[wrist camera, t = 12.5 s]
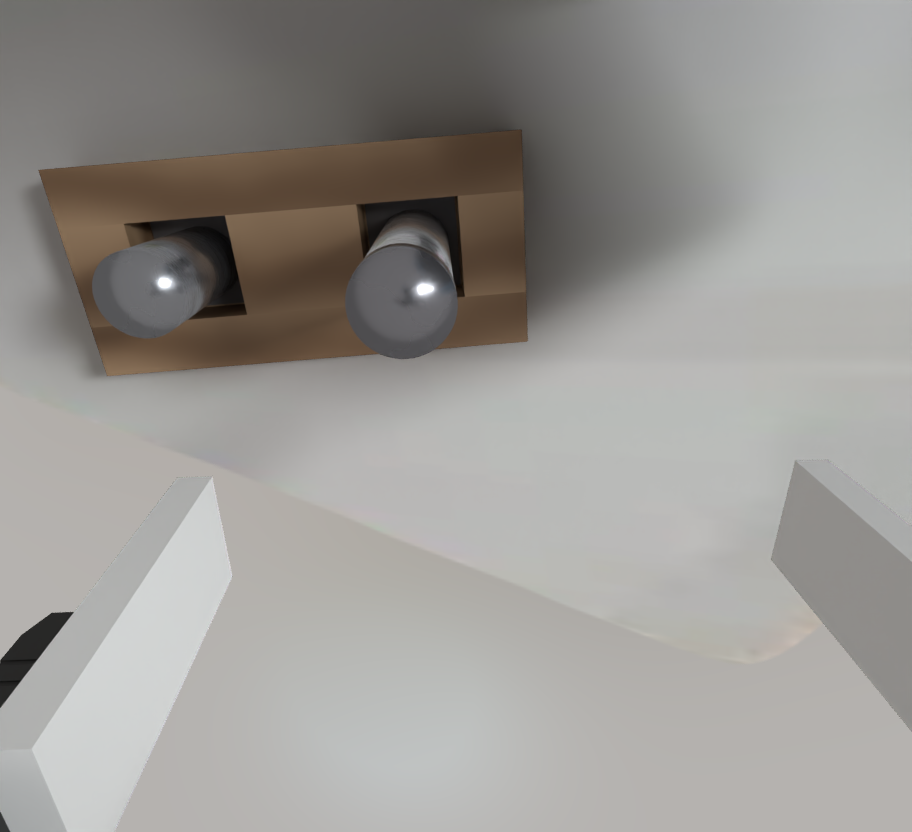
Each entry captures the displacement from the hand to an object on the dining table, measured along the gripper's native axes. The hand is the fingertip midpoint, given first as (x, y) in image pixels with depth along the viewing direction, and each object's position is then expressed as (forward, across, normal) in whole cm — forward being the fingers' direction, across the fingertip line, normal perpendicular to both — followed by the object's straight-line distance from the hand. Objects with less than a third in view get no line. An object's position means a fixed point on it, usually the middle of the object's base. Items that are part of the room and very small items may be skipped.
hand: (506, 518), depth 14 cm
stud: (+21, -2, +3) cm, 21 cm away
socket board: (+22, -8, +3) cm, 23 cm away
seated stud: (+21, -14, +2) cm, 25 cm away
